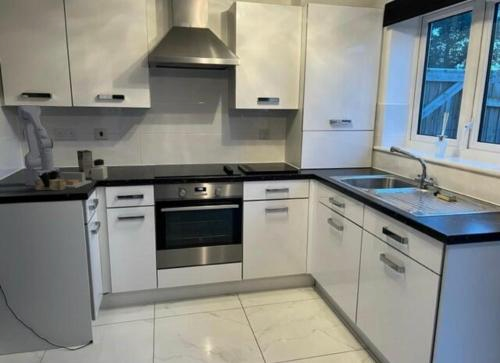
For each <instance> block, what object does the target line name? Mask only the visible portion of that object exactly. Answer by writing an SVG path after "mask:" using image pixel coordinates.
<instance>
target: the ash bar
mask: <svg viewBox="0 0 500 363" xmlns="http://www.w3.org/2000/svg"><path fill="white" fill-rule="evenodd" d="M58 179H59V178H56V179H49V187H45V186H44V184H43V182H42V180H41V179H39V180H35V186H34V188H35V190H36V191H63V190H66V188H65V184H64V180H58Z"/></svg>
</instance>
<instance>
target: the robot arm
mask: <svg viewBox="0 0 500 363" xmlns="http://www.w3.org/2000/svg"><path fill="white" fill-rule="evenodd" d="M17 114H18V118H19V122H22V123H23V125H24V130H25V135H26V142H27V145H28V146H27V147H28V152H27V153H26V154H25V156H24V166H25V169H26V170H25V172H24V178H25V184H24V186H34V187H35V180H39V179H41V180H42V182H43V184H44V186H45V187H49V179H58V178H57V177H58V175H60V172H59V171H60V167H59V166H54V155H53V148H54V141H53V138H52V137H51V136H49V134H48V132H47V130H46V128H45V127H44V126H42V122H41V120H40V119H41V115H42V110H41V107H40V106H39V105H18V107H17Z"/></svg>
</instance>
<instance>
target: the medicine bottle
mask: <svg viewBox="0 0 500 363" xmlns="http://www.w3.org/2000/svg"><path fill="white" fill-rule="evenodd" d="M92 160H93V159H92ZM91 175H92V176H91V181H104V180H106V179H108V177H109V176H108V167H107V165H106V166H105V162H104V159H102V158H99V159H98V158H96V159H94V160H93V168H91Z"/></svg>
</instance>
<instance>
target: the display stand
mask: <svg viewBox="0 0 500 363" xmlns="http://www.w3.org/2000/svg"><path fill="white" fill-rule="evenodd" d="M57 179H58V180H64V184H65V189H66V188H67V189H68V188H69V189H77V188H79V187H82V186H85V185H89V184H91V183H92V180H86V177H85V172H79V171H77V172H76V171H60V172H59V178H57Z"/></svg>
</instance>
